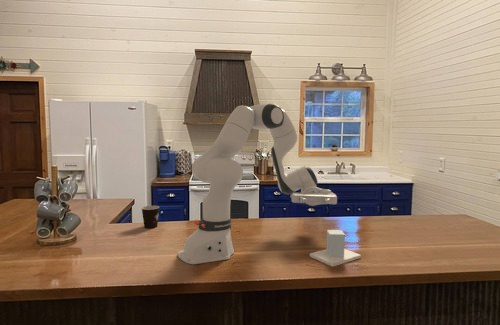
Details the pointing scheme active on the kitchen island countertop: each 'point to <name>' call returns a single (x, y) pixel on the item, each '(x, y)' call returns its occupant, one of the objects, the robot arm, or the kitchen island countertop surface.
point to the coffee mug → (150, 216)
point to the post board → (335, 261)
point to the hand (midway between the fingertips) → (315, 201)
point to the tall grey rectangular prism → (335, 243)
